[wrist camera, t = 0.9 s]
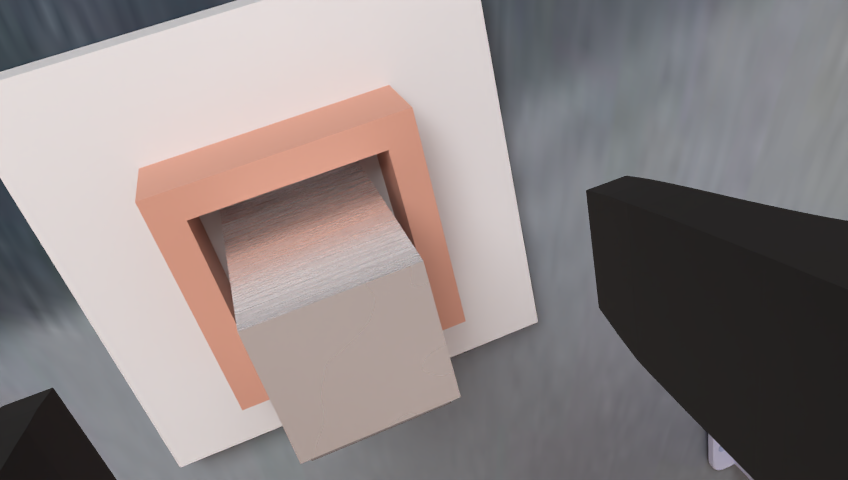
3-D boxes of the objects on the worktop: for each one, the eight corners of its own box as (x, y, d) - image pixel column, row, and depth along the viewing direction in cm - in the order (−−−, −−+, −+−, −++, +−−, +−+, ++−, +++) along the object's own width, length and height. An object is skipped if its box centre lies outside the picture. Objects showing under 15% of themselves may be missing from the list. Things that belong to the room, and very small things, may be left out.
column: (390, 274, 20) (463, 405, 15) (270, 319, 19) (304, 471, 14) (353, 155, 18) (423, 260, 13) (218, 202, 17) (237, 331, 12)
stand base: (524, 305, 23) (577, 369, 20) (179, 444, 22) (181, 537, 19) (454, -66, 17) (515, -53, 14) (-39, 83, 15) (-91, 135, 12)
